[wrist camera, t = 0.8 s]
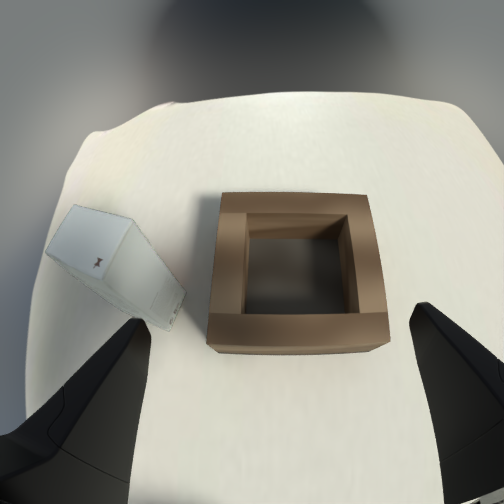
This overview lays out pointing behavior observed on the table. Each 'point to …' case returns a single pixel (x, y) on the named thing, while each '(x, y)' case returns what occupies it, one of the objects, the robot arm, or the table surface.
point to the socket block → (296, 276)
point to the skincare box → (117, 264)
